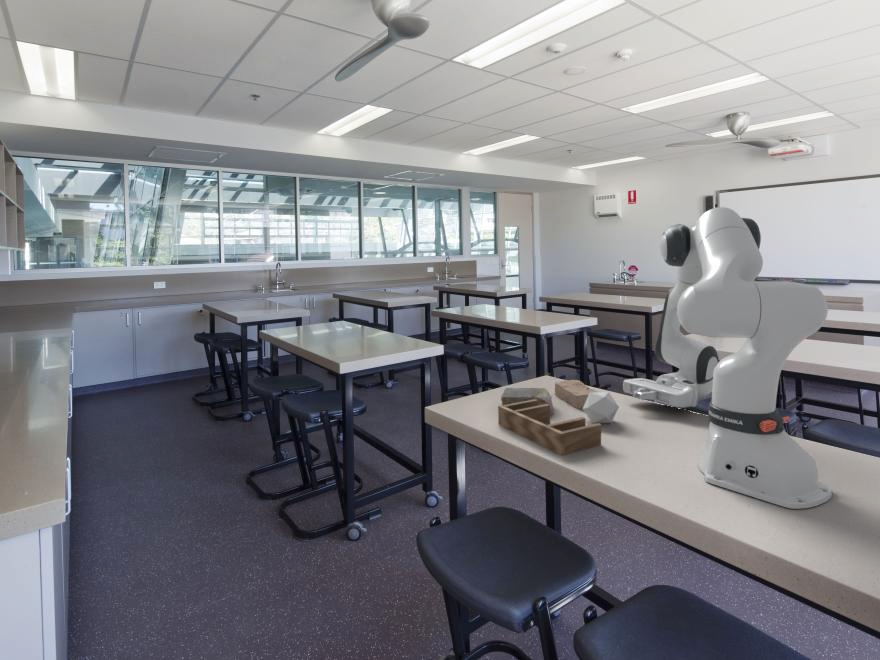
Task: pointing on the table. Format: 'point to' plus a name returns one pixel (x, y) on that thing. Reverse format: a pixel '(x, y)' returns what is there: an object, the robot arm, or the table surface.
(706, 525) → the table surface
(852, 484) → the table surface
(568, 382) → the brick
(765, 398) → the robot arm
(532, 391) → the geological specimen
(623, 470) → the table surface
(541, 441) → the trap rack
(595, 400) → the die
